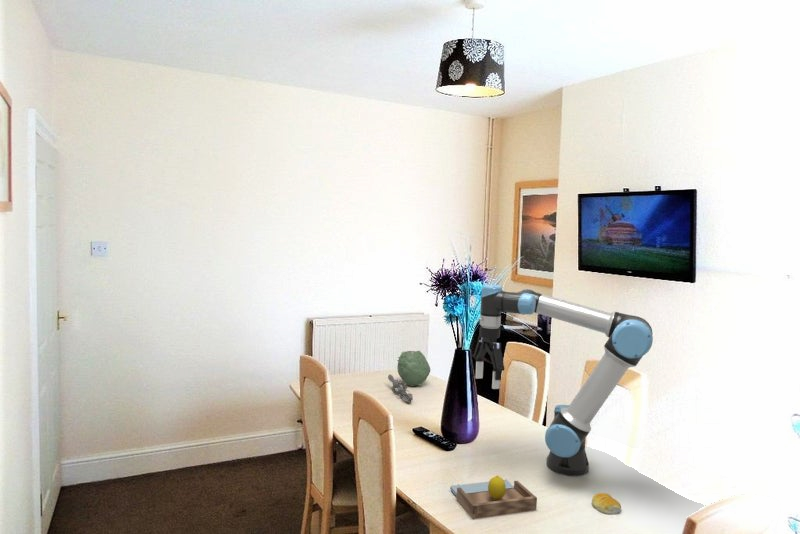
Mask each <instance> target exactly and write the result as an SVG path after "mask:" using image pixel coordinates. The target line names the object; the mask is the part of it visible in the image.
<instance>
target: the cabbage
mask: <svg viewBox="0 0 800 534" xmlns="http://www.w3.org/2000/svg"><path fill="white" fill-rule="evenodd" d="M397 358H398V359H397V367H396V368H397V372H398V376H399V377H400V378H401V381H404V382H405V383H406V385H407V386H410V387H417V386H420V385H422V384H423V383H424V382H426V380H427V378H428V376H429V375H430V374H431V366H430V364H429V362H428V360H427V358H426V357H425V355H424V353H422V352H421V350H415V351H414V350H406V351H402V352H401V353H400V356H398V357H397Z"/></svg>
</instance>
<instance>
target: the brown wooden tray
mask: <svg viewBox="0 0 800 534" xmlns="http://www.w3.org/2000/svg"><path fill="white" fill-rule="evenodd" d="M513 486H514V488H512V489H506V491H505V495H504V496H503V497H502V498H501V499H498V500H495V499H494V498H492V497H491V496H490V494H489V491H488V492H479V493H471V494H466V493H465V492H464V491H463V490H462V488H461V487H459V488H457V496H456V501H457V502H458V504H460V506H461V507H462V508H463V509H464V511H465V512H466V513H467V514H468V515H469V516H470V517H471V519H472V520H475V519H482V518H490V517H499V516H504V515H512V514H518V513H519V514H520V513H525V512H533V511H537V504H538V498H537V496H535V494H533V493H532V492H531V491H530V490H529V489H528V488H527V487H525V486H524V485H523V484H522V483H521V482H520V481H518V480H514V481H513Z"/></svg>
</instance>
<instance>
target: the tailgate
mask: <svg viewBox="0 0 800 534" xmlns="http://www.w3.org/2000/svg"><path fill="white" fill-rule="evenodd" d="M503 480H504V482H505V485H506V489H512V488H514V484H512V483H511V482H510V481H508V480H507V479H503ZM488 484H489V481H482V482H473V483H467V484H466V483H465V484H457V485H456V484H455V485H450V486H449V489H450V490H451V492H452V493H453V494H454V496H456V497H457V488H459V487H461V488H462V490H463V491H464V492H465V493H466V494H471V493H479V492H488Z"/></svg>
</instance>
